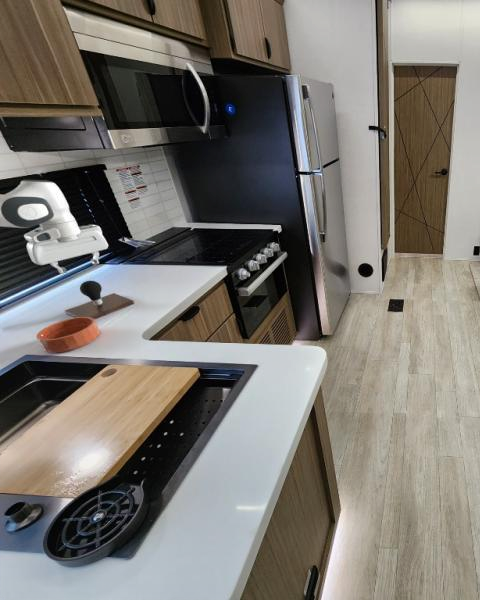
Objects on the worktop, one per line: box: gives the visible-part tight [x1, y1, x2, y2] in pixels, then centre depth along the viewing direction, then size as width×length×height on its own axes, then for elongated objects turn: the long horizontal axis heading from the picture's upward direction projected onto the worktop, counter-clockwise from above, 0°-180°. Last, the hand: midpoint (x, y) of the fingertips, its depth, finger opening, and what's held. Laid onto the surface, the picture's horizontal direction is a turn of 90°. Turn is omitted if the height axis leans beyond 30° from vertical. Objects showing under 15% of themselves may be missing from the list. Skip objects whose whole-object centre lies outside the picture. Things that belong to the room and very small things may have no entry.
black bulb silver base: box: [79, 280, 103, 306], centre depth 122 cm, size 6×6×10 cm
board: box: [64, 292, 135, 320], centre depth 125 cm, size 16×14×2 cm
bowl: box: [36, 317, 101, 353], centre depth 105 cm, size 14×14×5 cm
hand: (80, 268), depth 117 cm, fingers open, 8 cm apart
